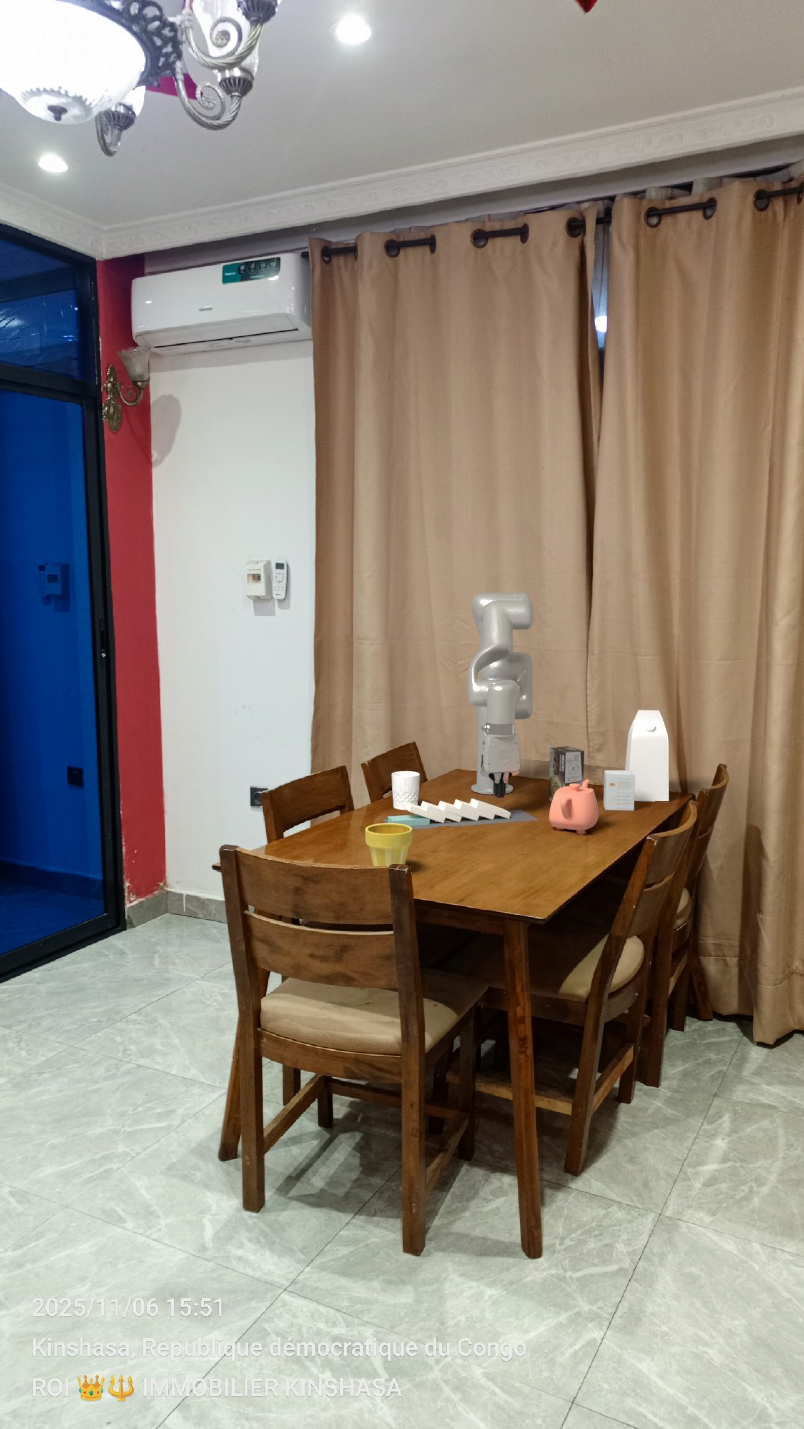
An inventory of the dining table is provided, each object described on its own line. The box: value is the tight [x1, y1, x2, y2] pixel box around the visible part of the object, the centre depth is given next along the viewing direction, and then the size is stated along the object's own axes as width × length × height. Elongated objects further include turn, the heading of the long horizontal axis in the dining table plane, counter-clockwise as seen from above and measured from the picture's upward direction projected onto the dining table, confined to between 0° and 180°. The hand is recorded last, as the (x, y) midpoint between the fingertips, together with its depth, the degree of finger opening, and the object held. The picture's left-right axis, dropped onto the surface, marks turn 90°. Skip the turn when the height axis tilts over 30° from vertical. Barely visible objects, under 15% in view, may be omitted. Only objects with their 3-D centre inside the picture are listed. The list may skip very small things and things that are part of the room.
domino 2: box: [404, 802, 445, 823], centre depth 253 cm, size 5×2×10 cm
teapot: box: [548, 778, 599, 835], centre depth 249 cm, size 20×12×12 cm, turn 152°
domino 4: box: [437, 800, 479, 821], centre depth 256 cm, size 5×2×10 cm
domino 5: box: [453, 798, 495, 820], centre depth 257 cm, size 5×2×10 cm
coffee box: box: [548, 746, 585, 802], centre depth 276 cm, size 9×6×16 cm
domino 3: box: [420, 800, 462, 822], centre depth 255 cm, size 5×2×10 cm
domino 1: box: [387, 814, 430, 826], centre depth 252 cm, size 5×2×10 cm
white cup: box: [391, 770, 421, 811], centre depth 270 cm, size 8×8×10 cm
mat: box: [382, 809, 539, 830], centre depth 256 cm, size 12×40×1 cm, turn 106°
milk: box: [624, 709, 670, 802], centre depth 284 cm, size 12×12×26 cm
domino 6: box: [469, 798, 511, 819], centre depth 258 cm, size 5×2×10 cm
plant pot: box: [364, 822, 413, 867], centre depth 212 cm, size 10×10×10 cm
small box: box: [603, 769, 635, 812], centre depth 271 cm, size 8×6×10 cm
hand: (499, 796), depth 259 cm, fingers closed
